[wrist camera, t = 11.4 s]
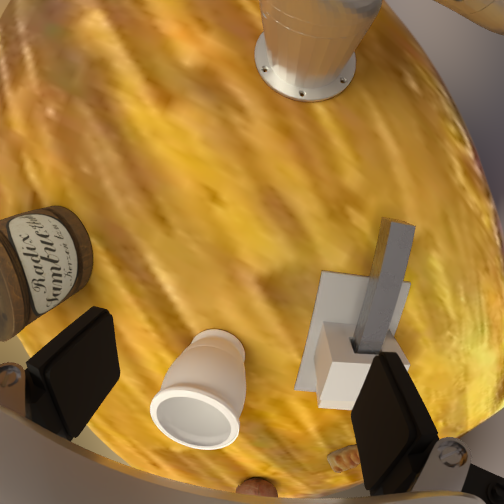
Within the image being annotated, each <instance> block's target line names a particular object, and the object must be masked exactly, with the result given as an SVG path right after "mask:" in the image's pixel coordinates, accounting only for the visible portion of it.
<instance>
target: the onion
mask: <svg viewBox="0 0 504 504" xmlns="http://www.w3.org/2000/svg"><path fill="white" fill-rule="evenodd" d="M236 493H240V494H248V495H256V496H266V497H278V494H277V490H276V488H275V487H274V486H273V485H272V484H271V483H269V482H268V481H265V480H264V479H261V478H252V479H248V480H247V481H244V483H242V484H241V485H240V486H239V485H238V487H237V489H236Z"/></svg>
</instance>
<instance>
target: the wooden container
mask: <svg viewBox="0 0 504 504" xmlns="http://www.w3.org/2000/svg"><path fill="white" fill-rule="evenodd" d="M92 266H93V254H92V247H91V243H90V240H89V237H88V234H87V232H86V230H85V228H84V226H83V224H82V223H81V221H80V220H79V219H78V218H77V216H76V215H75V214H73V213H72V212H71V211H70V210H68V209H66V208H64V207H61V206H50V207H46V208H41V209H37V210H32V211H28V212H25V213H21V214H17V215H14V216H11V217H8V218H5V219H2V220H0V341H2V342H4V341H7V340H9V339H11V338H12V337H14V336H15V335H16V334H18V333H19V332H20V331H21V330H22V329H24V327H25V326H27V325H28V324H30V323H31V322H33V321H34V320H36V319H37V318H39V317H40V316H42V315H43V314H45V313H46V312H48V311H50V310H51V309H53V308H54V307H56V306H57V305H59V304H60V303H62V302H63V301H65V300H66V299H68V298H69V297H70V296H72V295H73V294H75V293H76V292H78V291H79V290H80V289H82V288H83V287H84V286H85V285H86V283H87V282H88V280H89V278H90V275H91V272H92Z"/></svg>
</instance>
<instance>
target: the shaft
mask: <svg viewBox="0 0 504 504" xmlns="http://www.w3.org/2000/svg"><path fill="white" fill-rule="evenodd" d="M415 227H416V226H414V225H412V224H409V223H407V222H405V221H400V220H395V219H390V218H385V217H382V221H381V226H380V231H379V236H378V241H377V246H376V251H375V255H374V260H373V264H372V269H371V273H370V277H369V281H368V285H367V289H366V293H365V297H364V300H363V304H362V308H361V311H360V315H359V318H358V322H357V325H356V328H355V332H354V335H353V338H352V341H351V345H352V348H353V351H354V353H357V354H374V355H379V353H380V350H381V348H382V345H383V342H384V339H385V337H386V334H387V331H388V328H389V325H390V322H391V319H392V316H393V313H394V310H395V306H396V303H397V300H398V296H399V293H400V289H401V286H402V282H403V279H404V275H405V271H406V267H407V263H408V259H409V255H410V251H411V246H412V242H413V237H414V232H415Z"/></svg>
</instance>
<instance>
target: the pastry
mask: <svg viewBox="0 0 504 504" xmlns="http://www.w3.org/2000/svg"><path fill="white" fill-rule="evenodd" d="M327 459H328V462H329V464H330V465H331V468H332V469H333V470H334V471H335V472H337V473H341V472H342V471H345V470H348V469H351V468H354V467H356V466H357V465H358V464H360V458H359V453H358V448H357V444H356V445H350V446H347V447H345V448H342V449H339V450H336V451H334V452H332V453H330V454H329V455H328V456H327Z"/></svg>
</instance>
